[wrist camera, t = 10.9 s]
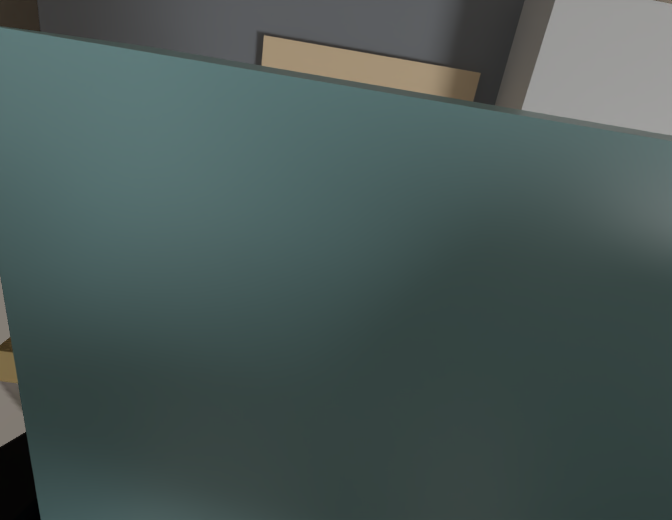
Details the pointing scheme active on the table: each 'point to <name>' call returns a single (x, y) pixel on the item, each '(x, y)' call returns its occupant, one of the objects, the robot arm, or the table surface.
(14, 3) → the table surface
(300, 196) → the cover
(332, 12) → the panel
